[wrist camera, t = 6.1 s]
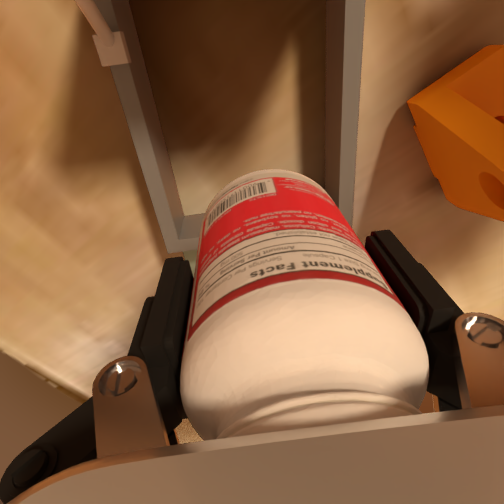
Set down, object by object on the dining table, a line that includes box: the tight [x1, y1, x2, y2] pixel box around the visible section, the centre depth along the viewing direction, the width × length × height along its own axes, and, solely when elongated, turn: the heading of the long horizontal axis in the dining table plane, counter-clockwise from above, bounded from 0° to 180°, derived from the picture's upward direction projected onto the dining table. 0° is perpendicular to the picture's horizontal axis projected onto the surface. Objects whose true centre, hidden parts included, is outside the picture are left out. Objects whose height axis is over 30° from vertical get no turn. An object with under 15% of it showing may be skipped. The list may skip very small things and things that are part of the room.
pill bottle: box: [180, 169, 429, 441], centre depth 10 cm, size 6×6×11 cm
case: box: [74, 0, 365, 254], centre depth 19 cm, size 21×16×16 cm
